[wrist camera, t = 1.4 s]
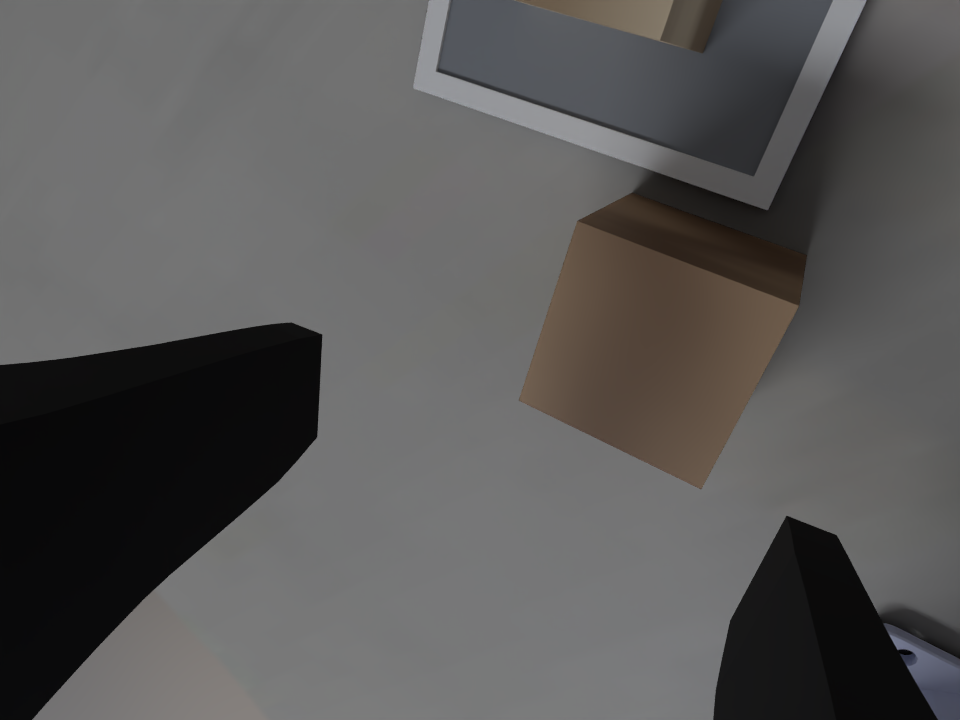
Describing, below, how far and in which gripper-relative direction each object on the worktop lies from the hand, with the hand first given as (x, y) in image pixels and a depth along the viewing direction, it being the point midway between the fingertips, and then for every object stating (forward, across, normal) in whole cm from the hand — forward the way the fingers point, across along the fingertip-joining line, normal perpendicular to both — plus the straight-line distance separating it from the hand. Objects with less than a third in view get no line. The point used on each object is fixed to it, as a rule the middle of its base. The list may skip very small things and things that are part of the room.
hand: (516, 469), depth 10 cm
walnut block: (+10, -1, 0) cm, 10 cm away
